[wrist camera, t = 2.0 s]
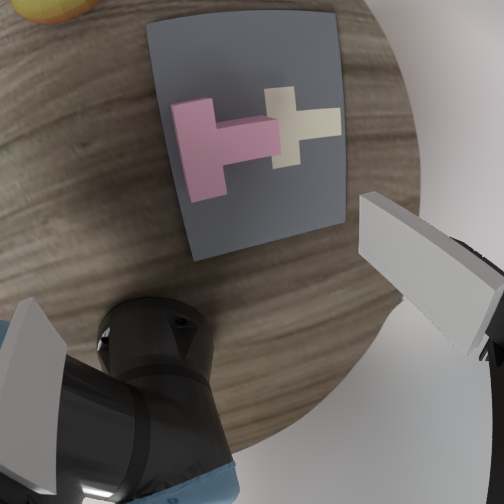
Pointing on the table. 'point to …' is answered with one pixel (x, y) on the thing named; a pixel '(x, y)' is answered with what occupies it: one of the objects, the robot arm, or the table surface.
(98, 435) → the robot arm
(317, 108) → the board
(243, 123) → the t block
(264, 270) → the table surface
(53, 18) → the apple
